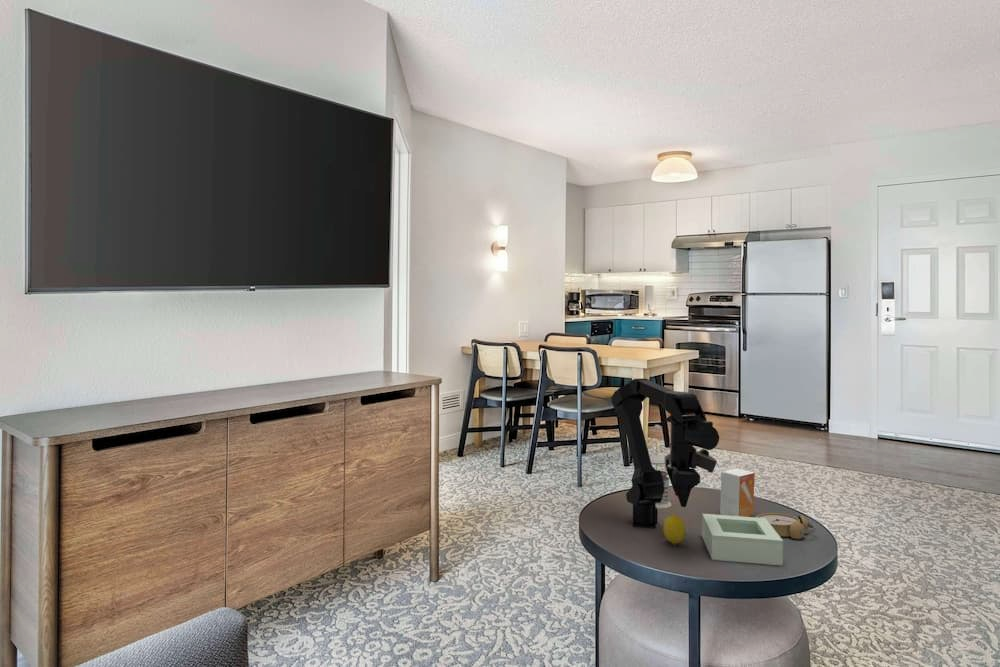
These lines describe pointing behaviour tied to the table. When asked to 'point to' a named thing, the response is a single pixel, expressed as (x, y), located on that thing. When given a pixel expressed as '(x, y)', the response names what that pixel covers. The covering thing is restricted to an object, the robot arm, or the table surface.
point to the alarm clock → (788, 524)
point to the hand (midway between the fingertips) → (680, 501)
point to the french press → (661, 460)
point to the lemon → (674, 529)
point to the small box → (737, 493)
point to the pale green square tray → (741, 539)
